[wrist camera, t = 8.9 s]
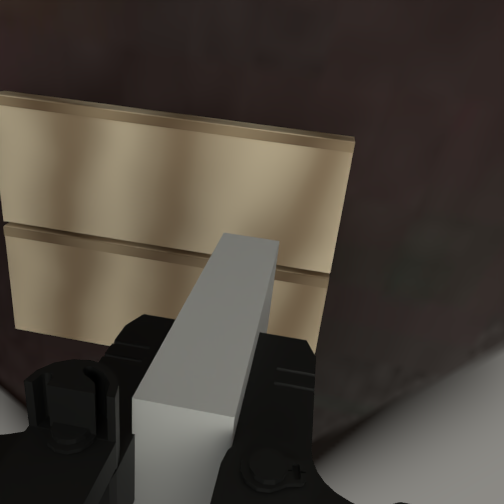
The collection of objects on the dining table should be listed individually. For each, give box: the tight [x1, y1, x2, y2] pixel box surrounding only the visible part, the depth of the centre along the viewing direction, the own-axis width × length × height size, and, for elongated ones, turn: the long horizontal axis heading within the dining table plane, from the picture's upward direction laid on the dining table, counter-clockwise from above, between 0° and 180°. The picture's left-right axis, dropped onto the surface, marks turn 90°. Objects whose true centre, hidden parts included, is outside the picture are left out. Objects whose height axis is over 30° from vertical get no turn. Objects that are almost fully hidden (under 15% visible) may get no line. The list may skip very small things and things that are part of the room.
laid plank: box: [3, 222, 329, 354], centre depth 31 cm, size 20×8×2 cm, turn 84°
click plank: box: [0, 91, 355, 273], centre depth 28 cm, size 20×8×2 cm, turn 84°
